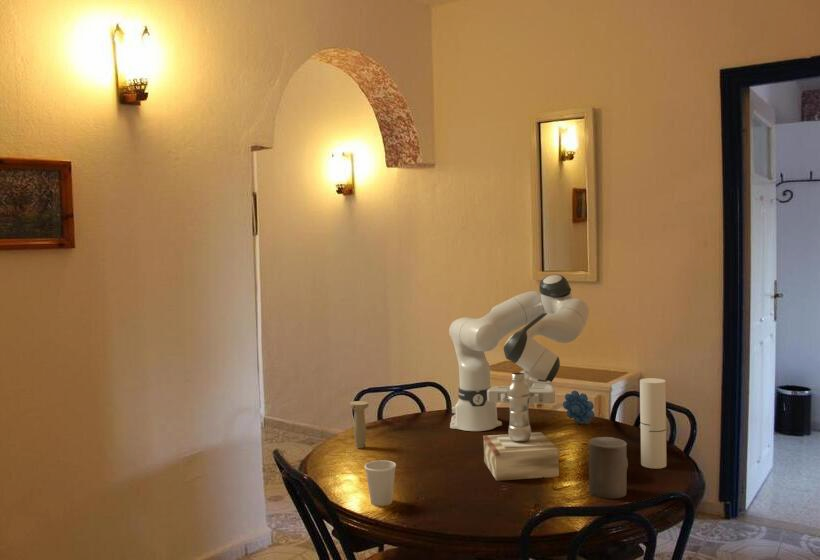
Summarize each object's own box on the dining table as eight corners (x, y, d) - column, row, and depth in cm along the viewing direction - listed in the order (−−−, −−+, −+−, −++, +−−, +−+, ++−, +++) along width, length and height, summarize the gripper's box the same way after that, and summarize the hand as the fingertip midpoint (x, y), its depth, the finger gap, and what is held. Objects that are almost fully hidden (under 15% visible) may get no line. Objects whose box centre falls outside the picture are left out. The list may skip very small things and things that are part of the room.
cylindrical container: (648, 459, 227) (647, 377, 226) (670, 464, 222) (669, 380, 221) (636, 465, 222) (635, 381, 221) (659, 470, 217) (658, 384, 216)
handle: (363, 450, 246) (361, 405, 245) (348, 448, 250) (346, 403, 249) (372, 447, 250) (371, 402, 249) (357, 444, 254) (356, 400, 253)
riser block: (483, 461, 231) (483, 434, 230) (541, 457, 232) (541, 431, 232) (496, 480, 213) (495, 451, 212) (558, 476, 214) (558, 447, 214)
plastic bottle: (530, 444, 218) (529, 376, 217) (507, 443, 220) (505, 375, 218) (532, 437, 225) (530, 371, 223) (509, 437, 226) (507, 371, 224)
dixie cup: (361, 499, 201) (360, 462, 201) (391, 494, 204) (389, 458, 204) (371, 510, 194) (370, 471, 193) (402, 504, 197) (400, 466, 196)
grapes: (559, 425, 270) (558, 391, 270) (565, 420, 276) (565, 388, 275) (590, 428, 264) (590, 394, 264) (596, 424, 270) (596, 390, 269)
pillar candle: (586, 496, 198) (586, 440, 197) (591, 484, 207) (591, 430, 206) (625, 500, 194) (625, 443, 193) (628, 488, 203) (628, 433, 202)
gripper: (489, 380, 236) (482, 389, 223) (556, 381, 231) (553, 390, 218) (490, 399, 237) (483, 410, 223) (556, 401, 231) (553, 412, 218)
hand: (518, 400), depth 220 cm, fingers closed on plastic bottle, 6 cm apart
